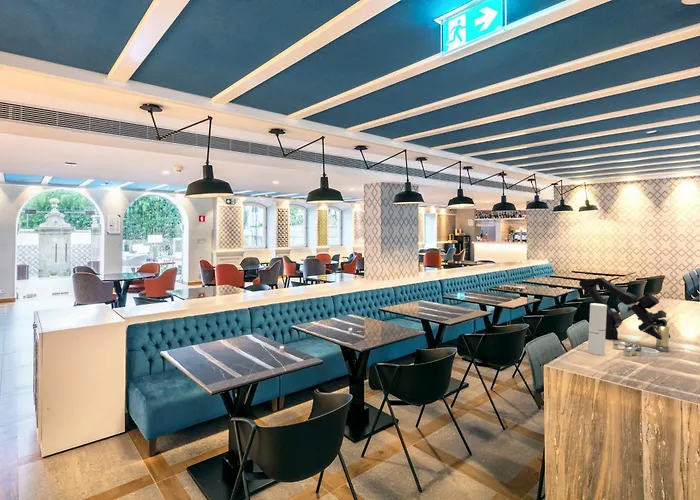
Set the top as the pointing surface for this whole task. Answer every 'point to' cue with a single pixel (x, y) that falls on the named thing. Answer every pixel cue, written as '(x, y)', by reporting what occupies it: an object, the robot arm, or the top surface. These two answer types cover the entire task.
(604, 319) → the light grey tall block
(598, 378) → the top surface
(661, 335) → the tan cylindrical piece
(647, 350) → the socket ring
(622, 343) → the shaft
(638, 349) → the shaft
